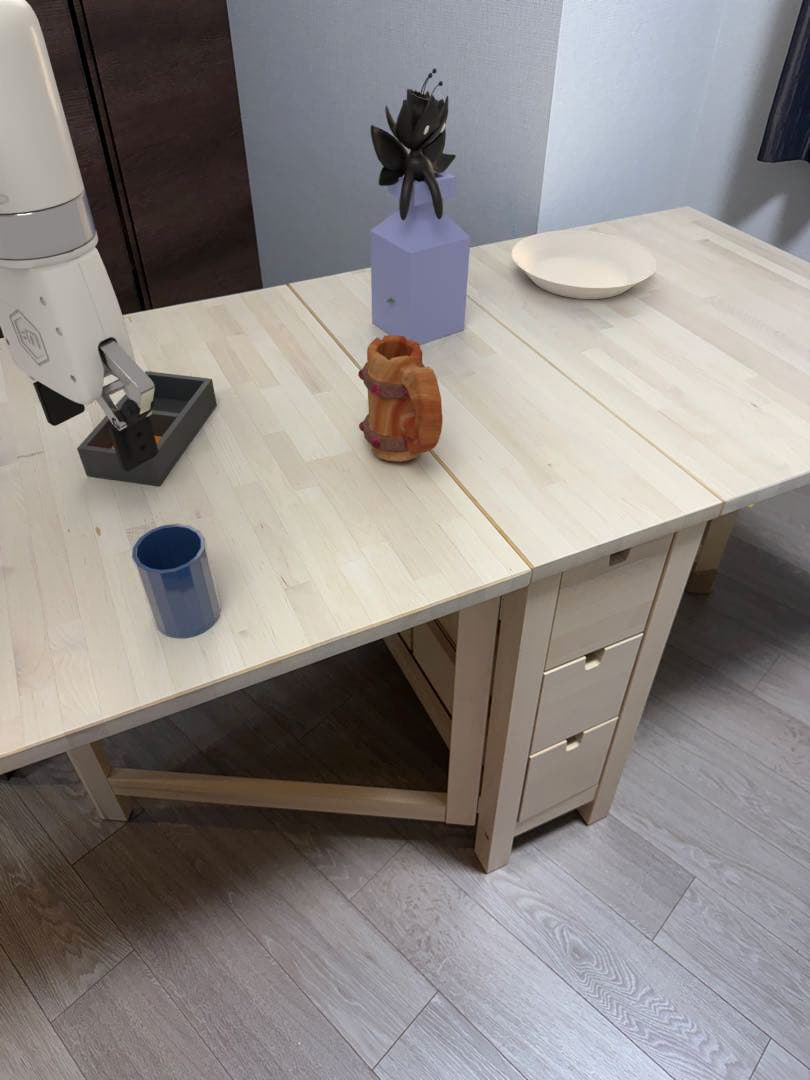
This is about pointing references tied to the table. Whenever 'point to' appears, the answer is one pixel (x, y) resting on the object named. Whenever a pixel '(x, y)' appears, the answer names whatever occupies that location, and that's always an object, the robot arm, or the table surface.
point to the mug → (400, 400)
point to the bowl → (583, 263)
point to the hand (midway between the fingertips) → (102, 439)
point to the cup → (177, 580)
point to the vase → (418, 227)
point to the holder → (155, 430)
